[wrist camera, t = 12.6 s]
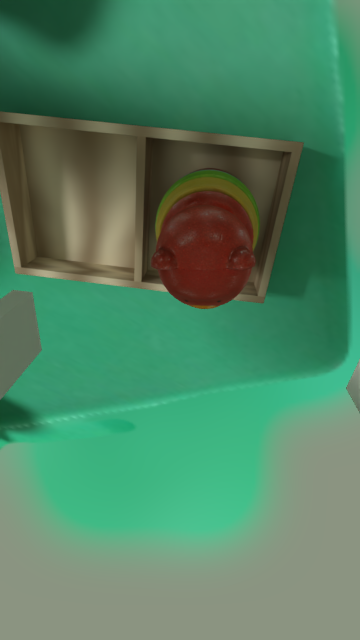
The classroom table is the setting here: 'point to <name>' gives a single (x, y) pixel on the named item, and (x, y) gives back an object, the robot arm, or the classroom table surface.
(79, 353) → the classroom table surface
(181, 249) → the stacking bear
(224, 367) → the classroom table surface
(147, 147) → the divided wooden tray
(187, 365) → the classroom table surface
